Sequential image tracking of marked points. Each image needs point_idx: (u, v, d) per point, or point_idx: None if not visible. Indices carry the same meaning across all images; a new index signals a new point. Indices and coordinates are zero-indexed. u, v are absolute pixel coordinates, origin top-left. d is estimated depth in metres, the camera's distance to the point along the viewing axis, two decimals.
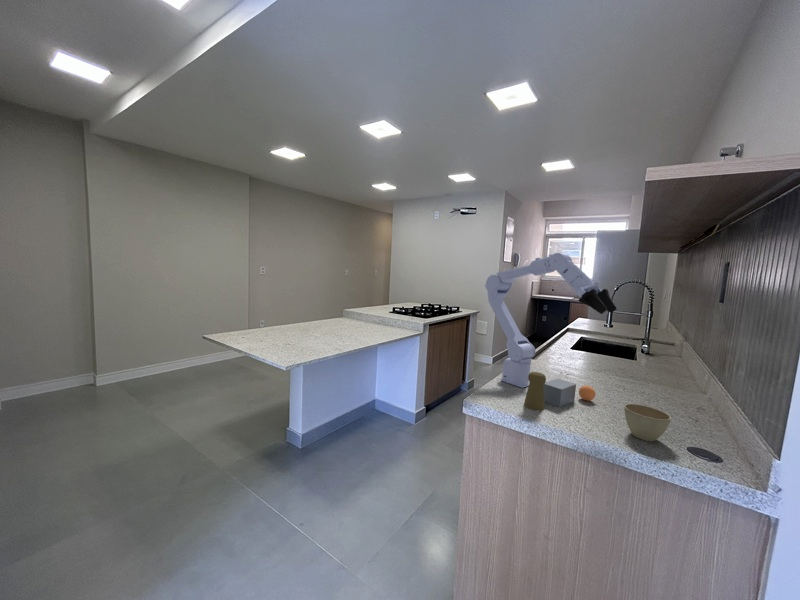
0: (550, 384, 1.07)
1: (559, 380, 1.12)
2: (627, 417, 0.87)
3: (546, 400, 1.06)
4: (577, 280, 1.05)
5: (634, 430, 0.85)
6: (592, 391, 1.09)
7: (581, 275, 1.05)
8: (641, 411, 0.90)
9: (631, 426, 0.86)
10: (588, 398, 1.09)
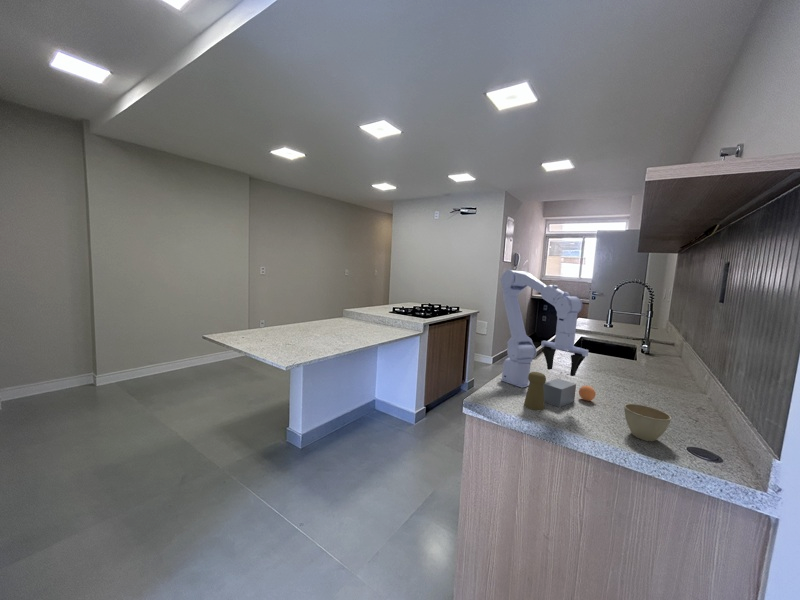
0: (550, 384, 1.07)
1: (559, 380, 1.12)
2: (627, 417, 0.87)
3: (546, 400, 1.06)
4: None
5: (634, 430, 0.85)
6: (592, 391, 1.09)
7: (557, 332, 1.06)
8: (641, 411, 0.90)
9: (631, 426, 0.86)
10: (588, 398, 1.09)
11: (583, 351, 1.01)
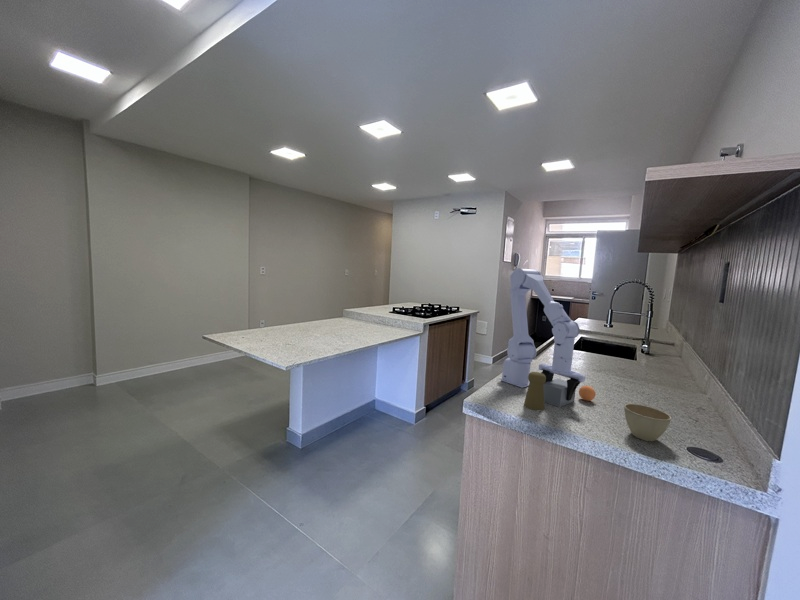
0: (550, 384, 1.07)
1: (559, 380, 1.12)
2: (627, 417, 0.87)
3: (546, 400, 1.06)
4: None
5: (634, 430, 0.85)
6: (592, 391, 1.09)
7: (554, 356, 1.07)
8: (641, 411, 0.90)
9: (631, 426, 0.86)
10: (588, 398, 1.09)
11: (580, 377, 1.02)
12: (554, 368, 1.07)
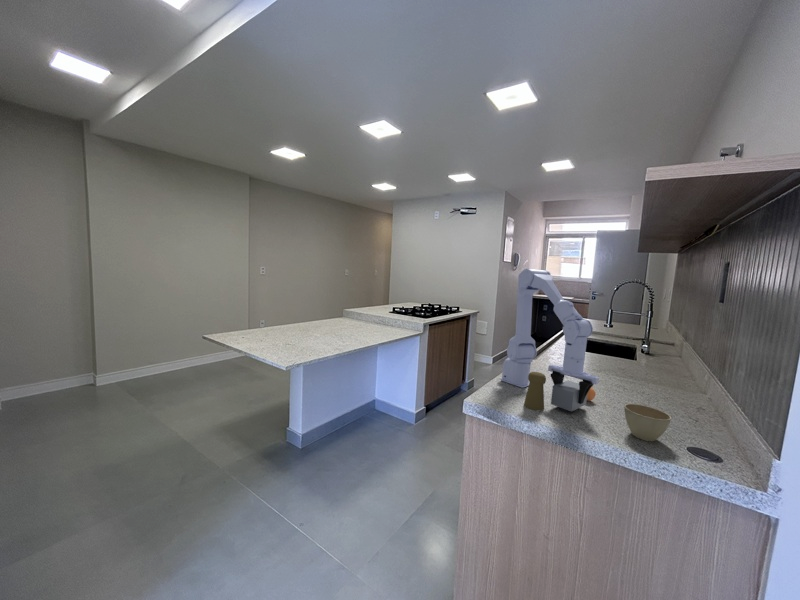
0: (560, 386, 1.01)
1: (570, 382, 1.05)
2: (627, 417, 0.87)
3: (557, 403, 1.00)
4: None
5: (634, 430, 0.85)
6: (592, 391, 1.09)
7: (565, 357, 1.01)
8: (641, 411, 0.90)
9: (631, 426, 0.86)
10: (588, 398, 1.09)
11: (593, 378, 0.96)
12: (565, 369, 1.01)
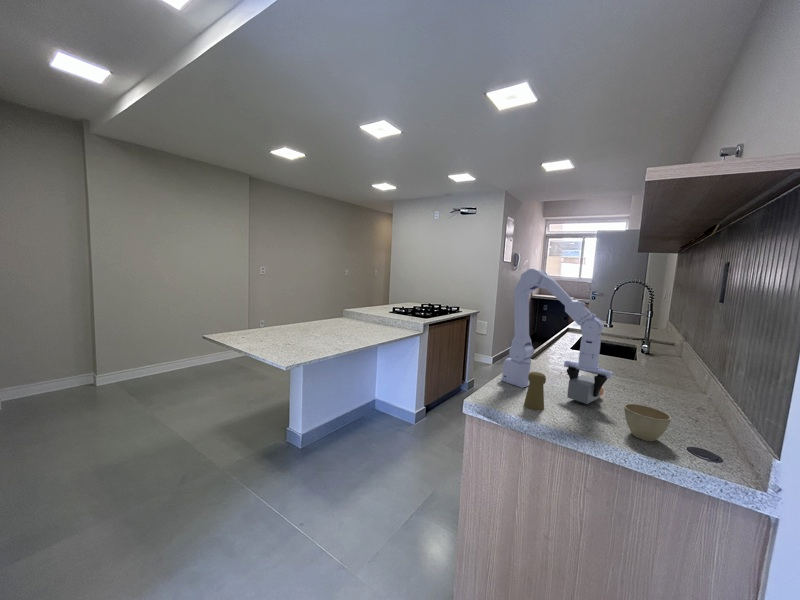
0: (576, 381, 1.08)
1: (584, 377, 1.12)
2: (627, 417, 0.87)
3: (573, 397, 1.07)
4: None
5: (634, 430, 0.85)
6: None
7: (580, 353, 1.08)
8: (641, 411, 0.90)
9: (631, 426, 0.86)
10: None
11: (608, 373, 1.03)
12: (581, 365, 1.08)
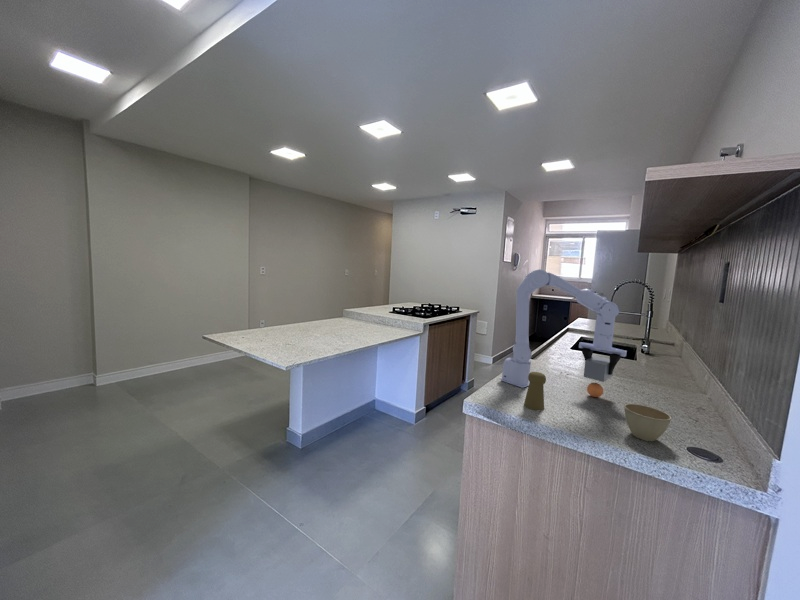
0: (592, 360, 1.14)
1: (598, 357, 1.19)
2: (627, 417, 0.87)
3: (589, 376, 1.13)
4: (594, 335, 1.16)
5: (634, 430, 0.85)
6: None
7: (596, 334, 1.14)
8: (641, 411, 0.90)
9: (631, 426, 0.86)
10: None
11: (622, 352, 1.09)
12: (596, 345, 1.14)
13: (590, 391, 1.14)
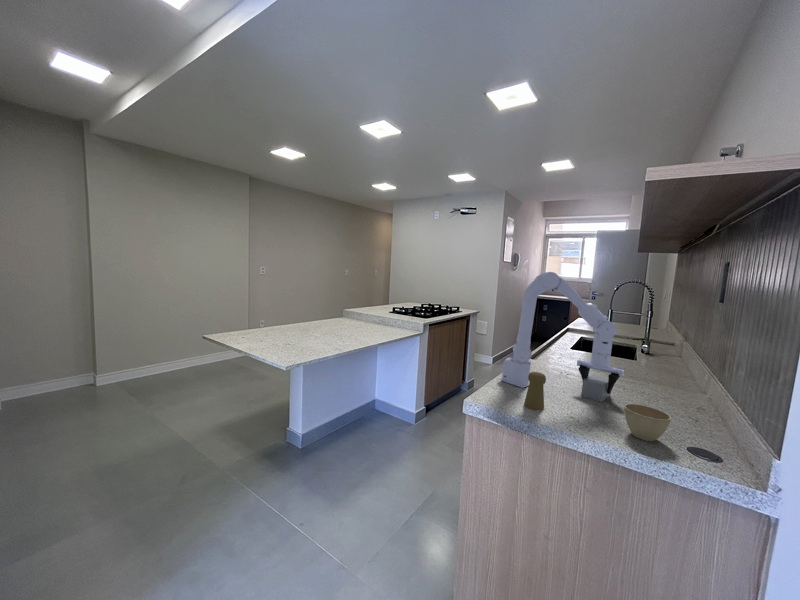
0: (590, 380, 1.14)
1: (595, 376, 1.19)
2: (627, 417, 0.87)
3: (587, 395, 1.14)
4: None
5: (634, 430, 0.85)
6: None
7: (593, 352, 1.15)
8: (641, 411, 0.90)
9: (631, 426, 0.86)
10: None
11: (620, 371, 1.10)
12: (594, 364, 1.14)
13: None
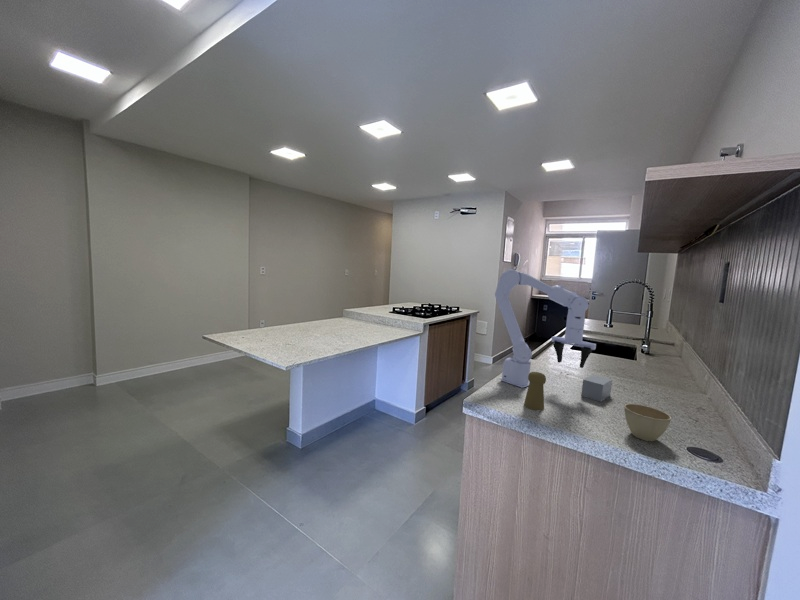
0: (590, 380, 1.14)
1: (595, 376, 1.19)
2: (627, 417, 0.87)
3: (587, 395, 1.14)
4: None
5: (634, 430, 0.85)
6: None
7: (567, 328, 1.17)
8: (641, 411, 0.90)
9: (631, 426, 0.86)
10: None
11: (592, 345, 1.13)
12: (567, 339, 1.17)
13: None
